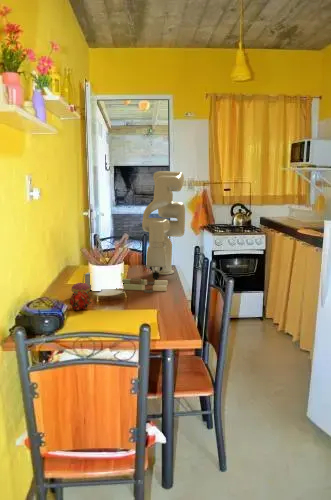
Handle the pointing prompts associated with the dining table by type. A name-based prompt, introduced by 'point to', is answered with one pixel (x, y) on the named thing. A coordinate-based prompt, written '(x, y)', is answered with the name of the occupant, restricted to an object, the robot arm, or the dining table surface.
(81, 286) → the cupcake
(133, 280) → the walnut block
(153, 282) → the pads
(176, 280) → the dining table surface
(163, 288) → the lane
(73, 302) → the dragon fruit
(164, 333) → the dining table surface
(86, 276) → the medicine box
